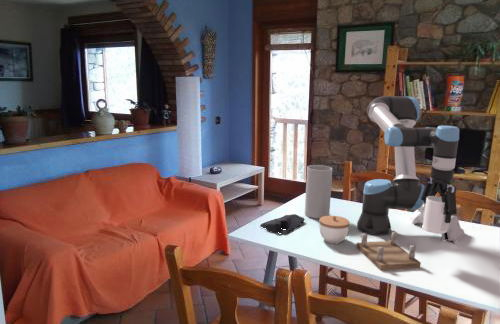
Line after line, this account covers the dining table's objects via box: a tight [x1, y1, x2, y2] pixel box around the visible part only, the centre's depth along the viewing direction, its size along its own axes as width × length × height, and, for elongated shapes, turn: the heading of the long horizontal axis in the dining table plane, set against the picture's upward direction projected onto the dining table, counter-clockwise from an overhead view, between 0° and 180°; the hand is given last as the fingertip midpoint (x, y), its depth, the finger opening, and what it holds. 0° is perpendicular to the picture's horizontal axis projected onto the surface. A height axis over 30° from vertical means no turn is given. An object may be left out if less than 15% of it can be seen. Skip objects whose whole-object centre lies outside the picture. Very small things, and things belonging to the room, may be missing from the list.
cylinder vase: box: [304, 164, 333, 220], centre depth 193 cm, size 12×12×25 cm
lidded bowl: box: [318, 215, 350, 245], centre depth 163 cm, size 13×13×11 cm
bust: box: [410, 203, 424, 225], centre depth 187 cm, size 12×8×11 cm
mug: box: [421, 195, 447, 235], centre depth 144 cm, size 12×8×12 cm
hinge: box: [441, 215, 465, 244], centre depth 171 cm, size 17×5×10 cm, turn 138°
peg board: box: [355, 231, 422, 271], centre depth 149 cm, size 20×16×7 cm
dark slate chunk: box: [259, 214, 305, 235], centre depth 181 cm, size 15×22×5 cm
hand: (435, 224), depth 145 cm, fingers closed on mug, 10 cm apart
